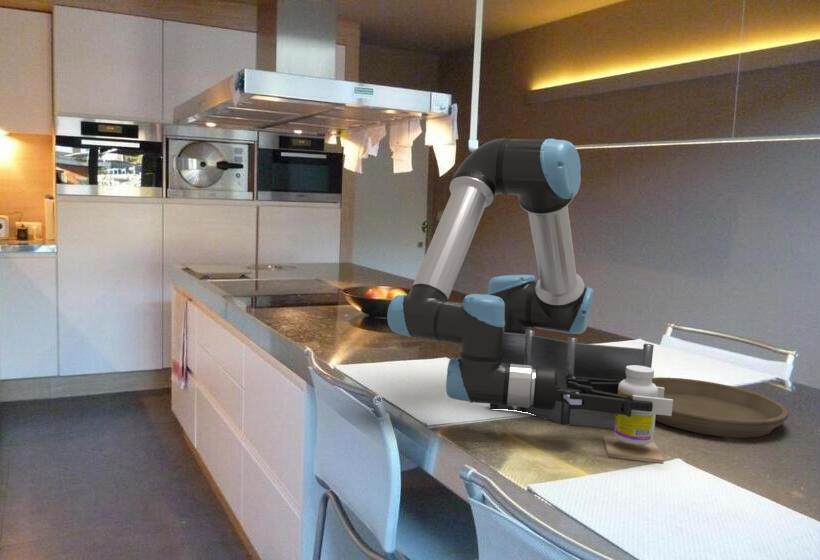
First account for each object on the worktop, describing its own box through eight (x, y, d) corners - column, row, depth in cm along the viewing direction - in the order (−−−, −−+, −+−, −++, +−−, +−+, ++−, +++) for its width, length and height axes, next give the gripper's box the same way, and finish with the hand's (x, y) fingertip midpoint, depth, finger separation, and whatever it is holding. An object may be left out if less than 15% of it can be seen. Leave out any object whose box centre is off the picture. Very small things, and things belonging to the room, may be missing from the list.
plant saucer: (669, 387, 165) (671, 368, 164) (809, 424, 142) (812, 403, 141) (596, 408, 144) (598, 387, 144) (745, 456, 121) (749, 432, 121)
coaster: (602, 438, 125) (603, 435, 125) (653, 444, 124) (654, 441, 124) (608, 456, 117) (608, 453, 117) (663, 463, 115) (663, 459, 115)
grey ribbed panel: (489, 407, 140) (495, 326, 138) (640, 423, 135) (649, 339, 133) (488, 416, 134) (494, 331, 132) (645, 433, 130) (654, 346, 127)
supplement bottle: (622, 430, 125) (629, 361, 123) (658, 439, 120) (666, 369, 119) (607, 438, 119) (614, 367, 118) (644, 449, 115) (652, 375, 114)
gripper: (531, 392, 132) (654, 405, 128) (531, 425, 113) (677, 441, 109) (534, 354, 131) (659, 366, 127) (535, 381, 112) (682, 396, 108)
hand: (667, 401), depth 118 cm, fingers closed on supplement bottle, 7 cm apart
